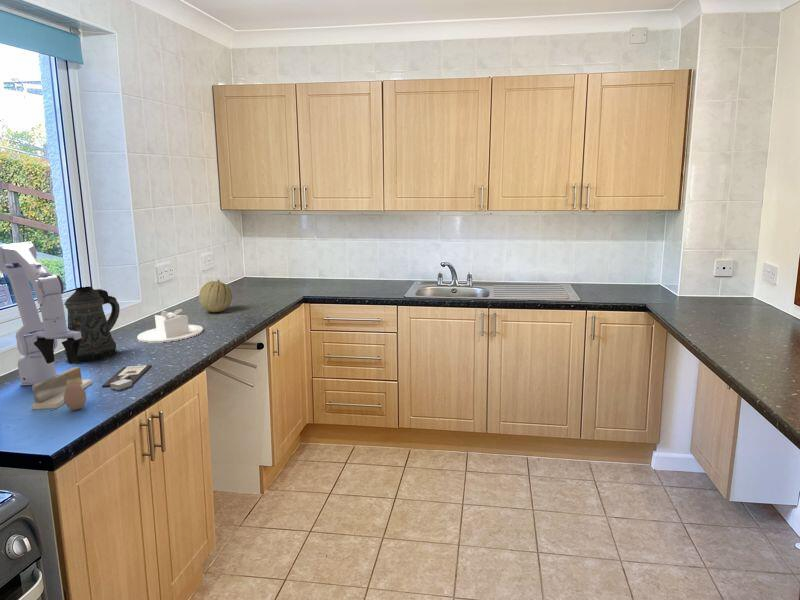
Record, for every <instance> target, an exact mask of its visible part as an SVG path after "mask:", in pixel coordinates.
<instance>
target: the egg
mask: <svg viewBox="0 0 800 600" xmlns="http://www.w3.org/2000/svg"><path fill="white" fill-rule="evenodd" d="M64 402H65V403H64V404H65V406H66V407H67V408H69V410H72V411H78V409H79V410H80V409H82V408H83V407H84V406H85V404H86V402H87V394H86V390H84V389H83V388H82V387H81V386H80V385H78V384H71V385H69V386H68V387H67V388H66V390H65V393H64Z"/></svg>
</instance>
